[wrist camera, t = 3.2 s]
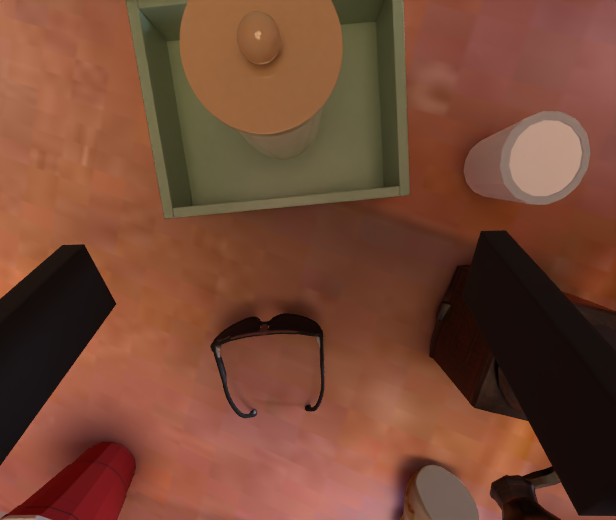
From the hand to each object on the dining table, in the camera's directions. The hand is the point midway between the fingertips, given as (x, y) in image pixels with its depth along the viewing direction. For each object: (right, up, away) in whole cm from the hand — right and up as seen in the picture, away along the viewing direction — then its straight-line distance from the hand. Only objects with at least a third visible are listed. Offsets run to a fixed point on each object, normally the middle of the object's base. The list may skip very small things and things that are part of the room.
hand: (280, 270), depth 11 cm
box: (-2, +13, +19) cm, 23 cm away
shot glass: (+19, +9, +20) cm, 29 cm away
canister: (-2, +13, +18) cm, 22 cm away
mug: (+14, -27, +27) cm, 41 cm away
